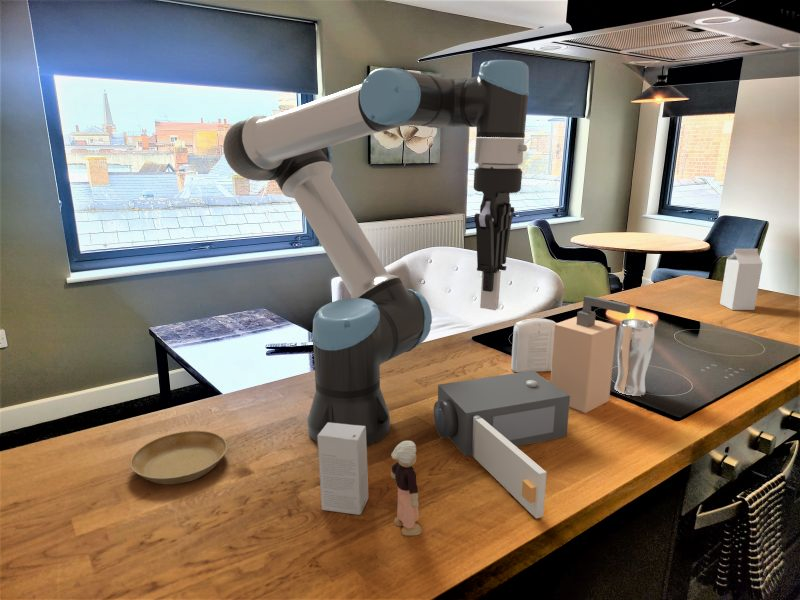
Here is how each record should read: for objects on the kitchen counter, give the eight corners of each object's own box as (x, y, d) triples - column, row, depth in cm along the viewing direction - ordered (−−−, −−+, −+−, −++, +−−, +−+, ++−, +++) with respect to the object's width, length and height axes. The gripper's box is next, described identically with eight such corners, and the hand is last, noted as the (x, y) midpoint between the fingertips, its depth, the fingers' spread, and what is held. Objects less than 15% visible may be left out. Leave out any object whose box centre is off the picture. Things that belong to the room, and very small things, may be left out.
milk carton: (754, 310, 174) (764, 250, 169) (731, 310, 174) (741, 250, 169) (741, 304, 181) (751, 246, 176) (719, 304, 181) (728, 246, 176)
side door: (466, 455, 92) (467, 417, 91) (477, 452, 93) (478, 414, 91) (531, 519, 76) (534, 475, 75) (543, 516, 77) (546, 472, 75)
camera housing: (452, 459, 92) (453, 412, 90) (426, 425, 103) (426, 383, 101) (566, 436, 99) (570, 392, 97) (530, 407, 110) (533, 367, 108)
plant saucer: (157, 442, 98) (155, 429, 98) (239, 443, 98) (238, 430, 97) (114, 493, 84) (111, 477, 84) (210, 493, 84) (209, 478, 83)
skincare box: (369, 498, 82) (367, 425, 79) (360, 516, 78) (358, 440, 75) (330, 493, 84) (327, 421, 80) (320, 510, 80) (316, 435, 76)
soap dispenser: (548, 398, 114) (556, 295, 108) (572, 387, 119) (581, 288, 114) (604, 421, 105) (616, 309, 99) (628, 408, 110) (640, 301, 104)
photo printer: (550, 364, 132) (553, 315, 129) (557, 371, 128) (561, 320, 124) (508, 367, 131) (511, 317, 127) (514, 374, 126) (517, 322, 123)
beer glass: (620, 381, 122) (628, 316, 118) (652, 390, 118) (661, 323, 114) (606, 390, 118) (613, 323, 114) (639, 401, 113) (647, 331, 109)
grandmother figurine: (434, 533, 75) (435, 449, 71) (411, 545, 72) (411, 459, 69) (401, 504, 81) (400, 426, 77) (379, 514, 79) (377, 434, 75)
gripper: (508, 169, 81) (497, 322, 88) (533, 165, 92) (521, 302, 99) (460, 166, 84) (453, 314, 91) (490, 164, 95) (481, 295, 102)
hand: (489, 307), depth 95 cm, fingers closed
